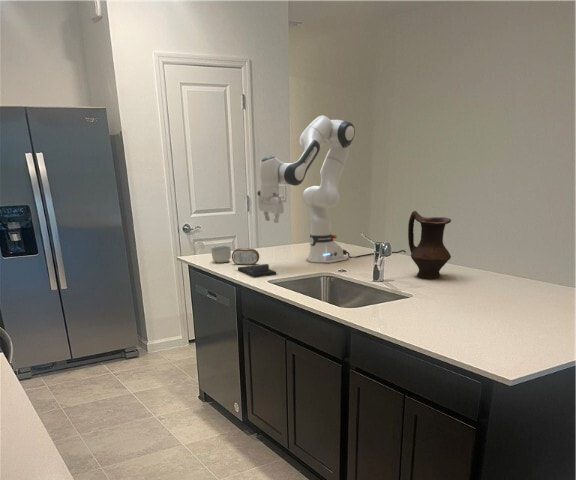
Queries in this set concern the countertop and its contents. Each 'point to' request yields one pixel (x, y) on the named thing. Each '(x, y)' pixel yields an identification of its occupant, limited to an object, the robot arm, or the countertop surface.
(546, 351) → the countertop surface
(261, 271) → the loose pad
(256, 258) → the tin
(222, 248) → the teacup
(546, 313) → the countertop surface
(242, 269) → the base pad
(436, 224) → the jug
